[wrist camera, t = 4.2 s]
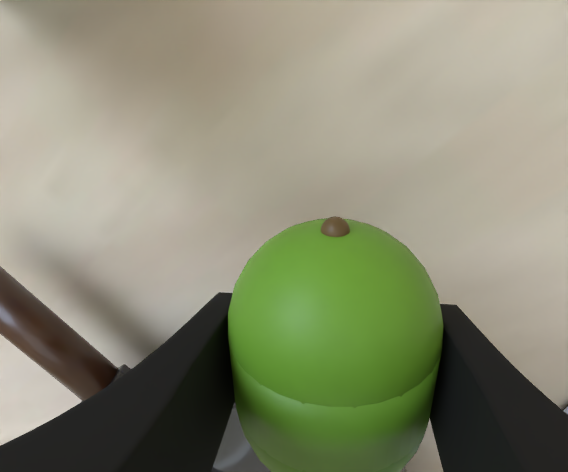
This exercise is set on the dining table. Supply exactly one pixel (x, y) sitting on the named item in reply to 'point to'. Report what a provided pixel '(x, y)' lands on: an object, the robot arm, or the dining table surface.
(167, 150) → the dining table surface
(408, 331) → the lime
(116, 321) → the dining table surface
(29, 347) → the pan handle
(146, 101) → the dining table surface
